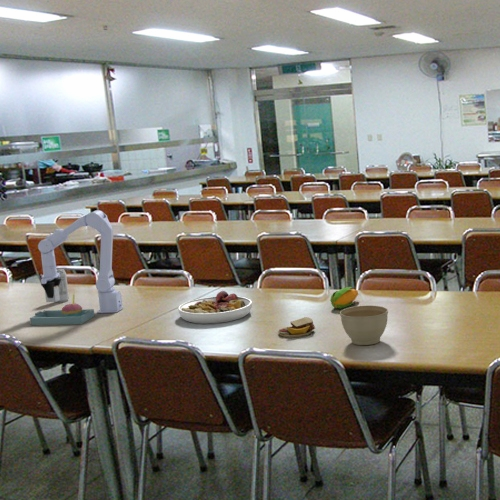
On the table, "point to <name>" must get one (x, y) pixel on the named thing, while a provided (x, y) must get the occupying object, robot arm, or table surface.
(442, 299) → the table surface
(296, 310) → the table surface
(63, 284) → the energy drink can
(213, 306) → the bowl
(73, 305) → the donut with candle
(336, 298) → the corn
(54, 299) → the tin
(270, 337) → the table surface
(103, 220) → the robot arm
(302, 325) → the toy sandwich meal
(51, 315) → the tray
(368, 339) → the planter bowl
